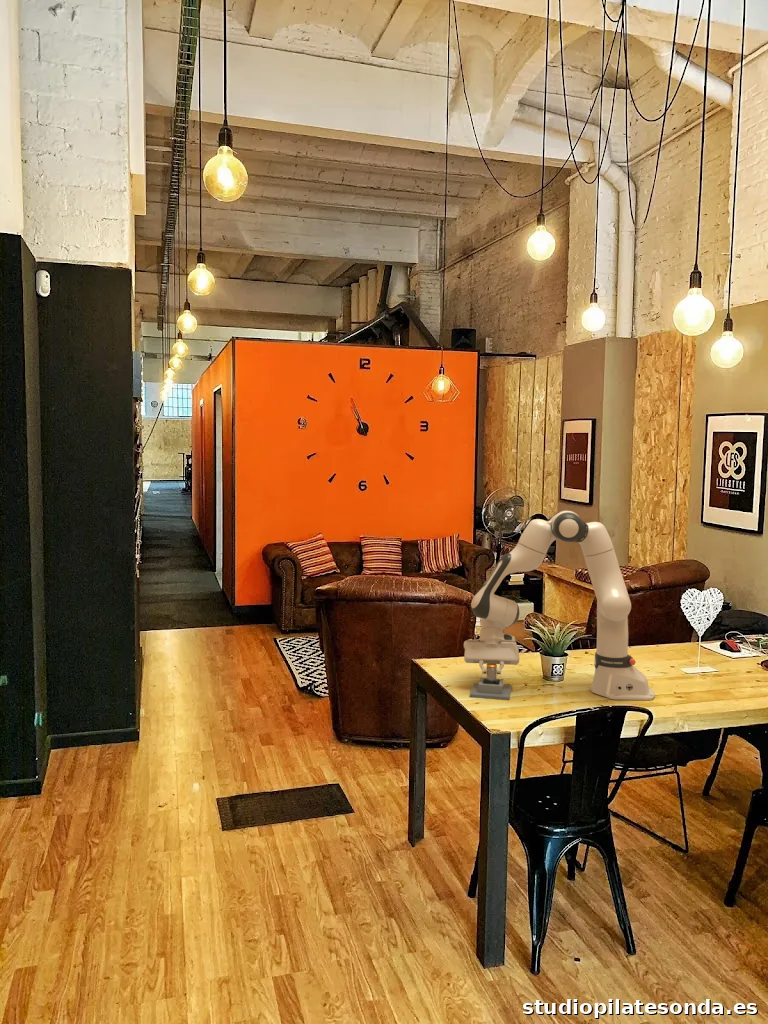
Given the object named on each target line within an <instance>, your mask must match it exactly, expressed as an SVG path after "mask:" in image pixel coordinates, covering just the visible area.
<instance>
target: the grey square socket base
mask: <svg viewBox="0 0 768 1024" xmlns="http://www.w3.org/2000/svg"><path fill="white" fill-rule="evenodd" d="M486 679H487V677H480V678H479V682H473V684H472V687H471V690H470V693H469V698H478V699H490V700H506V701H507V700H508V701H510V700H511V699H510V698H511V693H512V685H510V684H504V678H496V685H495V684H486Z"/></svg>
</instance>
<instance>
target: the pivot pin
mask: <svg viewBox="0 0 768 1024" xmlns="http://www.w3.org/2000/svg"><path fill="white" fill-rule="evenodd" d="M497 668H498V664H493V663H489V664H486V678H487V679H486V684H495V685H496V679H497V675H498V674H497Z"/></svg>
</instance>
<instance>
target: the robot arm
mask: <svg viewBox="0 0 768 1024" xmlns="http://www.w3.org/2000/svg"><path fill="white" fill-rule="evenodd" d="M557 540H560V541H561V542H565V543H579V546H580V549H581V551H582V556H583V558H584V561H585V565H586V568H587V571H588V575H589V578H590V582H591V585H592V588H593V592H594V594H595V598H596V601H597V602H596V651H595V653H594V662H593V663H594V674H593V679H592V684H591V686H590V691H591V692H592V693H594V694H596V695H599V696H602V697H606V698H607V699H609V700H626V701H628V700H629V701H630V700H632V701H634V700H635V701H637V700H638V701H651V700H654V699H655V694H656V693H655V691H654V690H653V688H652V687H650V686H649V682H648V679H647V676H646V675H645V674H644V673H642V672H641V671H640V670H639V669H638V668H636V667H635V666H634V665H636V660H635V659H634V658H633V657H632V656H631V654H628V653H629V651H628V650H629V618H628V617H629V614H630V612H631V610H632V602H631V599H630V596H629V593H628V589H627V586H626V583H625V580H624V577H623V573H622V570H621V568H620V564H619V561H618V558H617V555H616V551H615V548H614V544H613V541H612V538H611V537H610V534H609V532H608V530H607V529H606V526H605V525H604V524H603V523H601V522H599V521H590V522H585V521H584V520H583V518H582V517H580V516H579V515H578V514H577V513H576V512H574V511H572V510H566V509H565V510H560V511H558V512H556V513H555V514H554V515H552V516H550V517H549V518H548V519H547V520H544V519H540V518H536V519H532V520H530V521H529V523H528V524H527V526H526V527H525V528H524V530H523V532H522V533H521V536H520V537H519V539H518V542H517V544H516V545H515V547H514V548H513V549H512V550H511V551H509V552H508V553H505V554H503V555H502V556H501V557H500V559H499V560H498V561H497V562H496V564H495V565H494V567H493V569H492V570H491V572H490V574H488V576H487V578H486V580H485V581H484V583H483V584H482V586H481V587H480V588H479V590H478V591H477V592H476V593H475V594H474V596H473V597H472V599H471V600H470V601H471V603H470V607H471V608H470V609H471V611H472V613H473V615H474V616H475V617H476V618H478V619H479V618H480V619H479V620H480V621H479V623H480V630H479V639H470V638H469V639H467V640H464V642H463V649H464V653H463V654H464V657H463V660H464V662H465V663H467V664H478V665H479V668H480V669H481V672H482V673H481V674H483V675H484V674H486V675H487V667H485V666H484V664H486V665H487V664H489V663H493V664H496V665H499V667H497V675H501V674H502V670H503V668H504V667H505V665H510V666H517V665H518V664H519V663H520V653H519V652H520V651H519V646H518V644H517V643H516V637H515V636H514V635H512V634H508V633H505V632H504V629H507V628H510V627H511V626H512V625H513V626H514V625H515V624H516V623H517V622H518V621H519V618H520V608H519V604H518V602H516V601H514V600H512V599H510V598H509V599H508V598H506V597H503V596H499V595H497V594H495V592H496V591H497V589H498V588H499V586H500V584H501V583H502V581H503V580H504V579H505V578H506V576H508V575H509V574H512V573H517V572H518V573H519V572H520V573H521V572H522V573H523V572H524V573H525V572H531V571H534V570H537V569H538V568H539V567H541V565H542V563H543V562H544V560H545V557H546V556H547V553H548V550H549V548H550V546H551V544H552V543H553V542H554V541H557Z"/></svg>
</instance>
